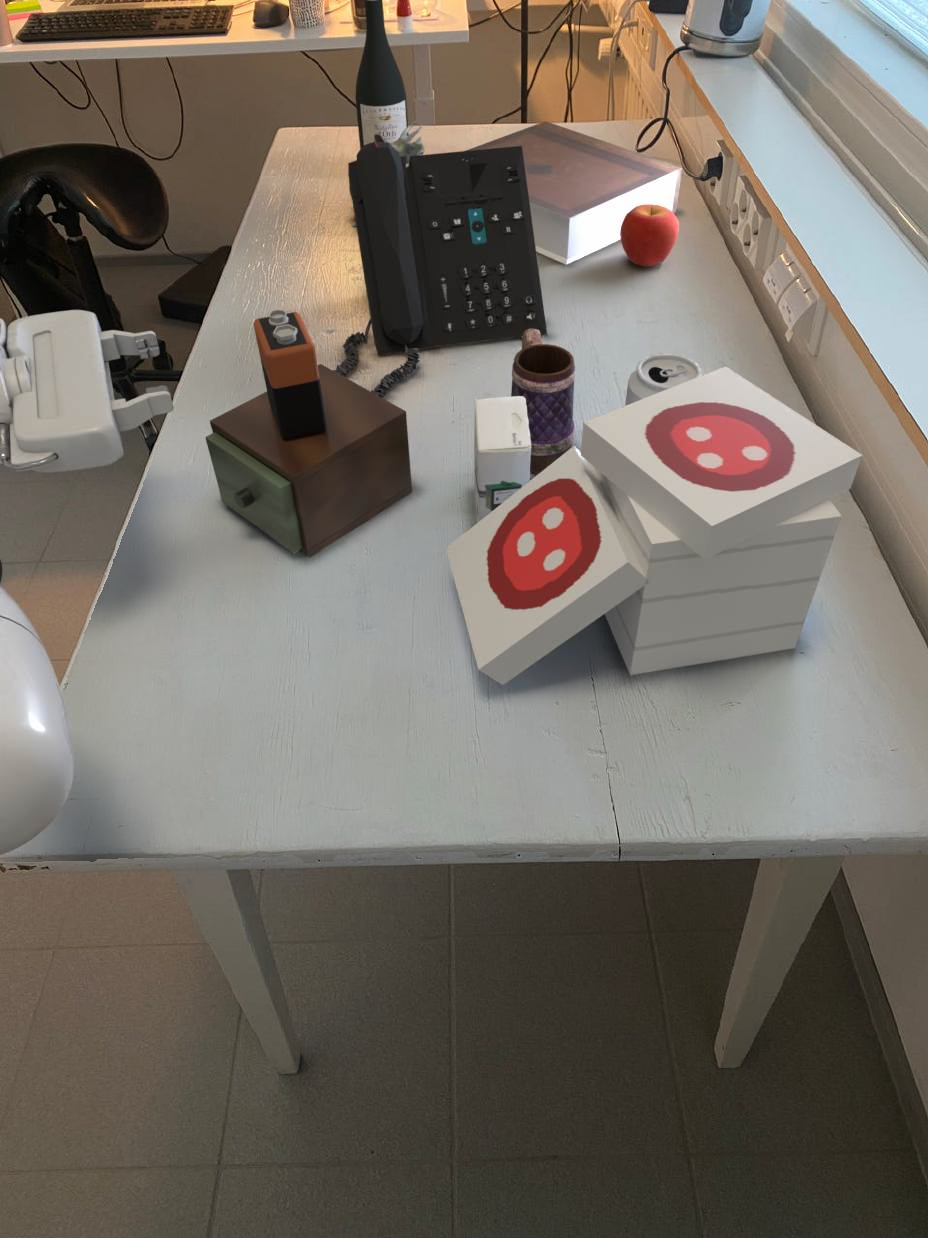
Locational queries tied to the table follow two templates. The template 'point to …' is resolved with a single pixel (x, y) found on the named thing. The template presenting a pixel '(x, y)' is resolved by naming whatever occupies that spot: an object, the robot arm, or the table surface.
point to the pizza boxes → (661, 534)
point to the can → (660, 375)
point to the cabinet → (331, 457)
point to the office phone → (443, 251)
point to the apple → (649, 234)
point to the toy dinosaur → (403, 146)
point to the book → (585, 187)
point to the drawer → (255, 491)
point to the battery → (291, 374)
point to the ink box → (500, 451)
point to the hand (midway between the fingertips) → (164, 369)
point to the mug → (545, 397)
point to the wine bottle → (379, 84)
